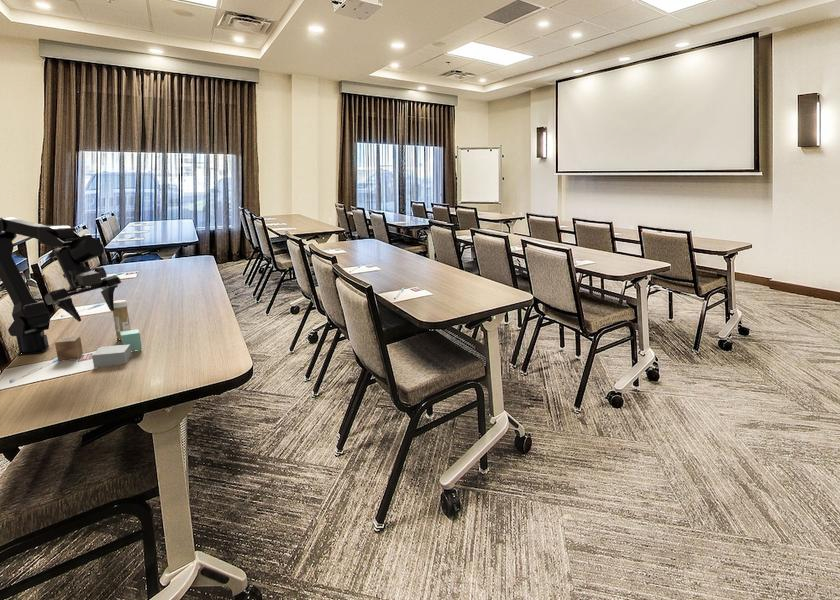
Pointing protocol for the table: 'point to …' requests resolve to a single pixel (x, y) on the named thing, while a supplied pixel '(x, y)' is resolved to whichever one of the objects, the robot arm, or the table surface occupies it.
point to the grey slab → (112, 355)
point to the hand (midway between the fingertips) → (96, 316)
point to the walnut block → (68, 348)
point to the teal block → (131, 339)
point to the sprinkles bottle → (121, 317)
